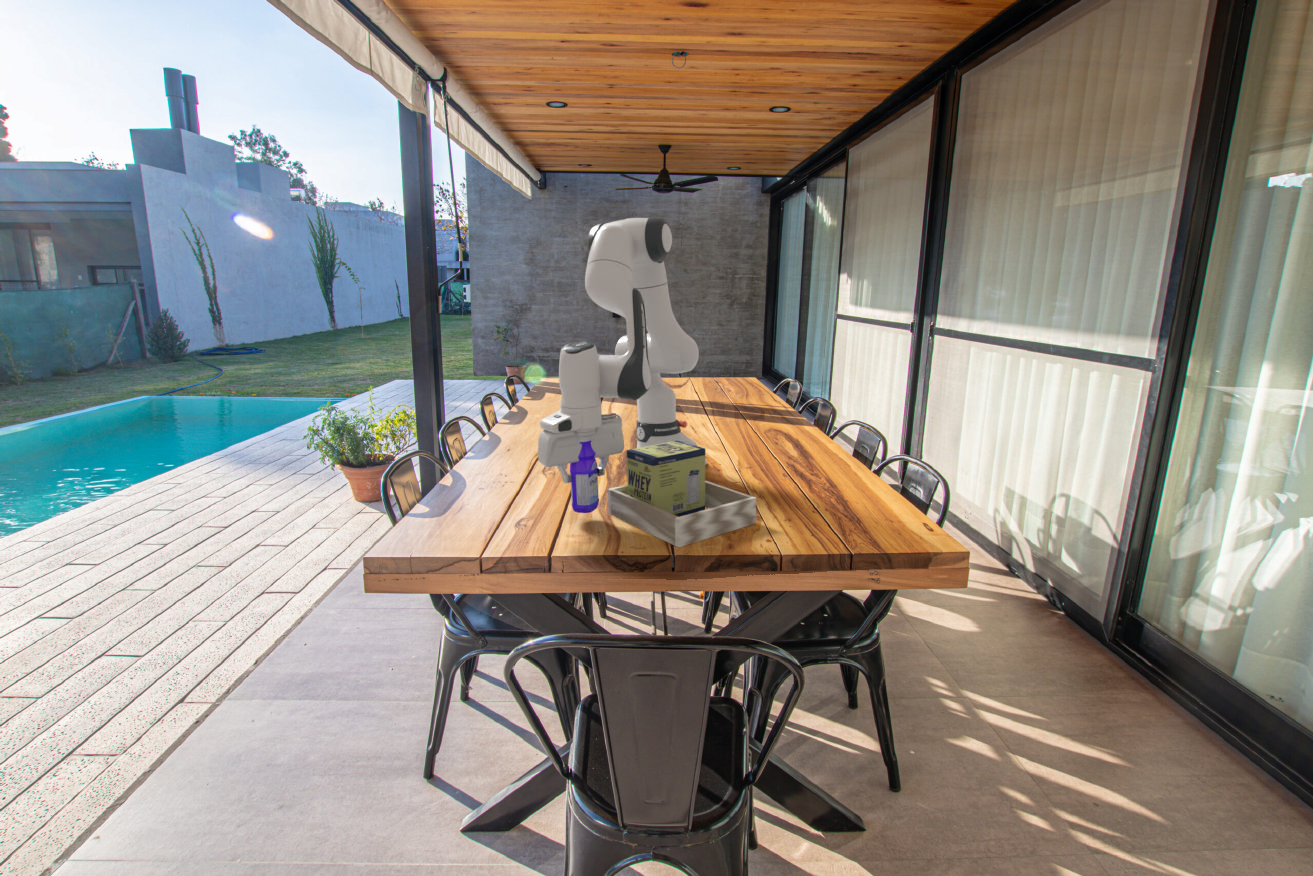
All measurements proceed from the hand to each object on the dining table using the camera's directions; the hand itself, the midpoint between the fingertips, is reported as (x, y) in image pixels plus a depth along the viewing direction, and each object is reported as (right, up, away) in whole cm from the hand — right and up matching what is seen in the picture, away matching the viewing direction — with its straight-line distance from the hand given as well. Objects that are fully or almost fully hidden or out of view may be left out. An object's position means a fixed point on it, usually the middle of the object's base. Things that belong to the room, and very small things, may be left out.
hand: (584, 478), depth 142 cm
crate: (+22, -9, +3) cm, 24 cm away
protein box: (+19, -9, +7) cm, 22 cm away
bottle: (0, -7, +2) cm, 7 cm away
